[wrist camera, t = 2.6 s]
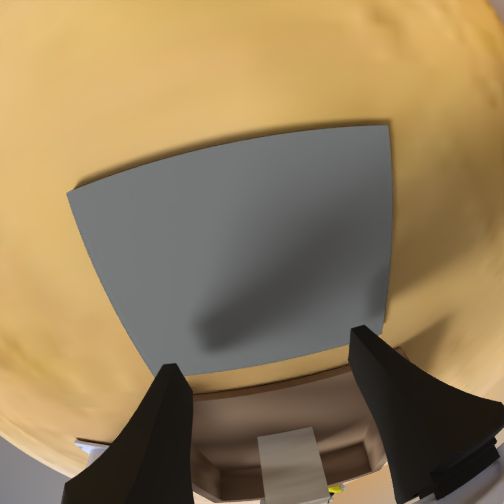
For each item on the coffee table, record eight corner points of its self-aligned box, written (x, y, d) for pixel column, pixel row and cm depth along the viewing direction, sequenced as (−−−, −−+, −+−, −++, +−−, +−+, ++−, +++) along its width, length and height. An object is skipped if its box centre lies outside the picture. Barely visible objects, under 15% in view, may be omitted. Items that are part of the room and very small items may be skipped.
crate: (368, 439, 21) (379, 470, 17) (213, 470, 21) (214, 502, 17) (400, 347, 14) (430, 394, 11) (144, 397, 14) (135, 452, 11)
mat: (377, 327, 13) (381, 333, 13) (156, 371, 13) (155, 378, 13) (381, 124, 9) (388, 125, 8) (72, 189, 9) (66, 193, 8)
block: (312, 444, 18) (327, 503, 13) (265, 453, 18) (274, 514, 13) (312, 426, 16) (330, 496, 11) (257, 436, 16) (266, 508, 11)
